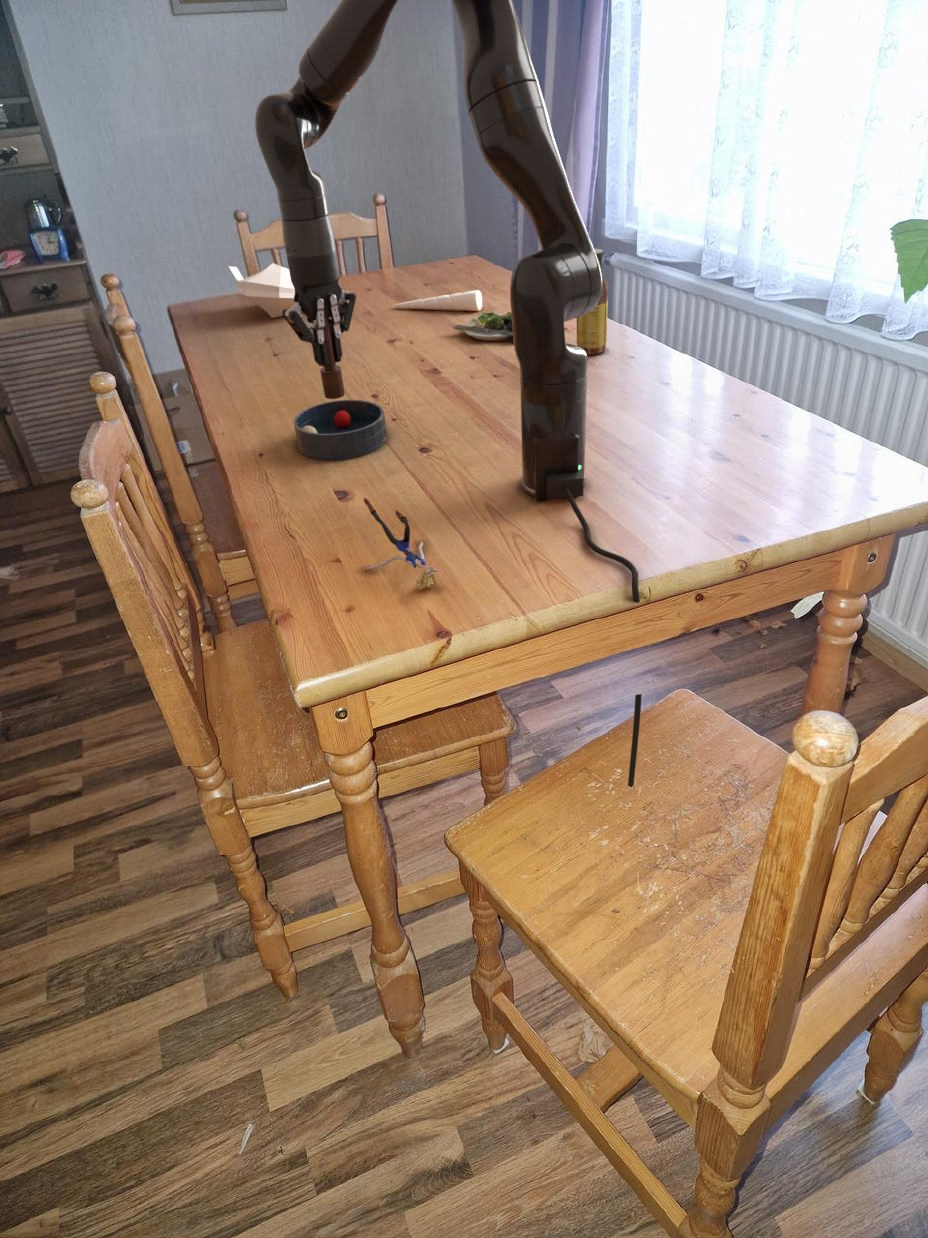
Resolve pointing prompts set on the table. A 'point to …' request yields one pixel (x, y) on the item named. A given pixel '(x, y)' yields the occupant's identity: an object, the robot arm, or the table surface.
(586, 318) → the sauce bottle
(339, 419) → the red ball
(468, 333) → the salad plate
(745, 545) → the table surface
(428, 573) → the figurine
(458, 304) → the unicorn horn
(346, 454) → the bowl
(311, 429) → the cream ball
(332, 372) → the brown stepped wooden peg
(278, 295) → the white faceted piece
